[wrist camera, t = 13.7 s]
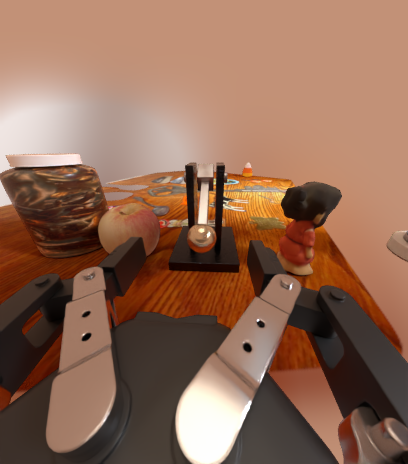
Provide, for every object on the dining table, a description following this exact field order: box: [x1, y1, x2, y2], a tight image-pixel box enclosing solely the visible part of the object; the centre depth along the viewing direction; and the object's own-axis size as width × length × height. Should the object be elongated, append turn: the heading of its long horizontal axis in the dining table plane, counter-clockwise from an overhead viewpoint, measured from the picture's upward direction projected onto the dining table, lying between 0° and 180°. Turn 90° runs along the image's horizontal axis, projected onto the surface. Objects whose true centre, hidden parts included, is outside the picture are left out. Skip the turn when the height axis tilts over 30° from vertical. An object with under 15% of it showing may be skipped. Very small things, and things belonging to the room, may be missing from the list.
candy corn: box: [242, 163, 252, 177], centre depth 98 cm, size 6×3×8 cm, turn 76°
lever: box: [187, 164, 216, 253], centre depth 20 cm, size 13×3×3 cm
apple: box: [98, 203, 160, 256], centre depth 25 cm, size 9×9×8 cm
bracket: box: [169, 163, 240, 272], centre depth 25 cm, size 12×10×14 cm
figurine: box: [277, 182, 342, 275], centre depth 22 cm, size 6×6×12 cm
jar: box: [0, 154, 109, 258], centre depth 28 cm, size 12×12×15 cm
